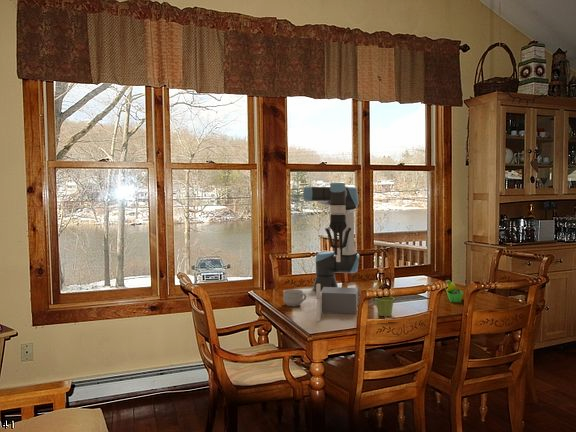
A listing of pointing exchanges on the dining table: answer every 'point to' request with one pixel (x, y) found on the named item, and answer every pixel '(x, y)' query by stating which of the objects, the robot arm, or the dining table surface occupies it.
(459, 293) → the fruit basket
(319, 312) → the door
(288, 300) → the teacup
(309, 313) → the dining table surface
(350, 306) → the box housing
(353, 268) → the robot arm
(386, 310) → the plant pot
